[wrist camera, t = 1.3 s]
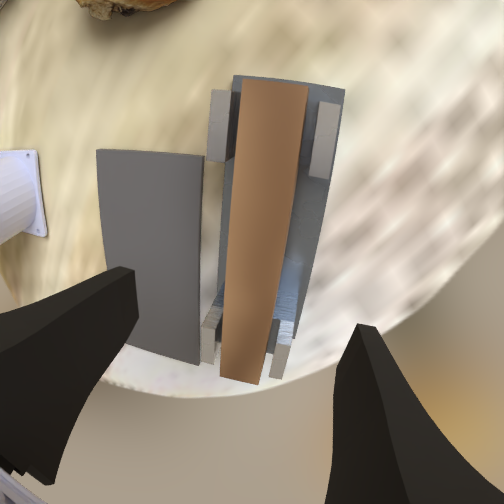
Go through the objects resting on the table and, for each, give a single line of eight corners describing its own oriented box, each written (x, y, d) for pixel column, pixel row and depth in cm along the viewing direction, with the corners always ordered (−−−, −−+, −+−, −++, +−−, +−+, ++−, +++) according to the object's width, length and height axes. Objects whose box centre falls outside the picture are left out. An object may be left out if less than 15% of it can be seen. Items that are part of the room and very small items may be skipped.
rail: (229, 349, 20) (219, 376, 18) (255, 82, 12) (242, 78, 10) (264, 357, 20) (258, 385, 17) (309, 89, 12) (307, 85, 10)
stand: (218, 317, 23) (194, 369, 19) (236, 75, 15) (202, 65, 10) (295, 333, 23) (286, 390, 18) (344, 90, 14) (357, 83, 10)
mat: (123, 339, 27) (121, 342, 27) (99, 148, 19) (96, 149, 18) (199, 362, 26) (198, 365, 26) (204, 156, 18) (202, 157, 17)
